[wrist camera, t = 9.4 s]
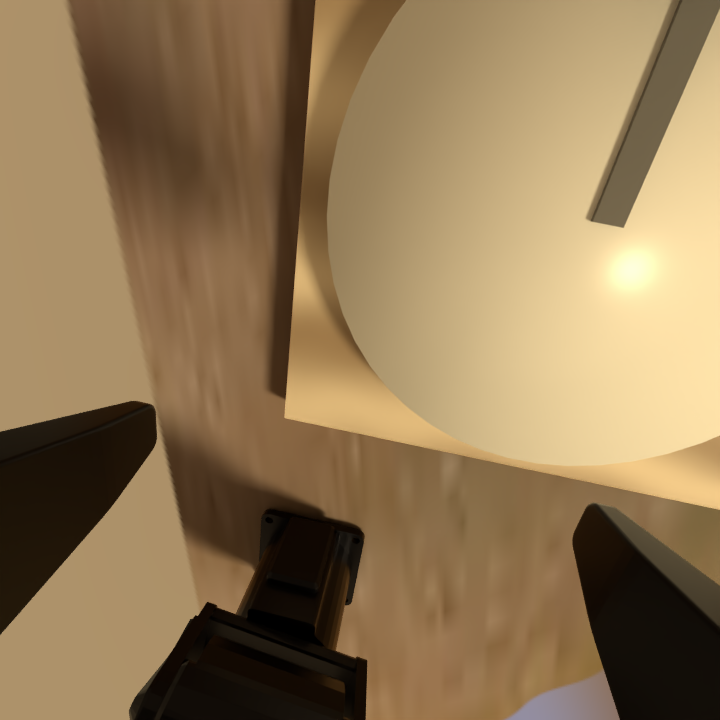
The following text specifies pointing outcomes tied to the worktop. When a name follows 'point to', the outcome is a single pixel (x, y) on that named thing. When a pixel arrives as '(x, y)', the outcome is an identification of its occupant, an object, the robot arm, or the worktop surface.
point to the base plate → (330, 330)
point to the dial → (538, 223)
